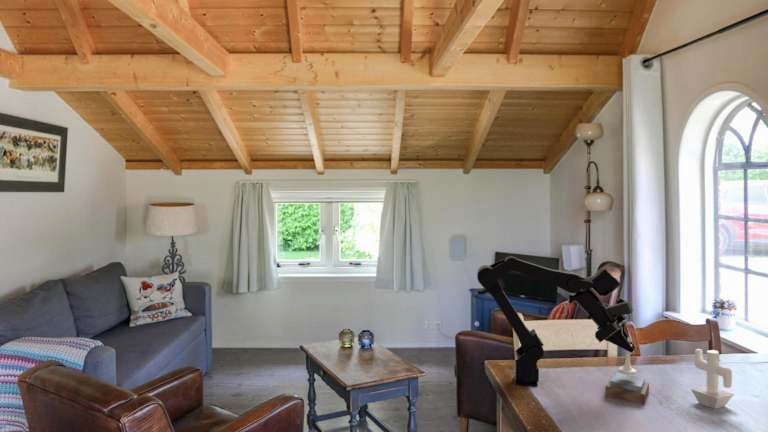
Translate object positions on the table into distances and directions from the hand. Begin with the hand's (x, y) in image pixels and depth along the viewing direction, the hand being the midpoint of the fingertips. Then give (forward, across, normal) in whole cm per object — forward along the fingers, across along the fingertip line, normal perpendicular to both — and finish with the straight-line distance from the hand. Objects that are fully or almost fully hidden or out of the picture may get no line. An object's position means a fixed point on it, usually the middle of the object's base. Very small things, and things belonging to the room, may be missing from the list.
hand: (633, 350), depth 140 cm
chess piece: (+4, 0, +6) cm, 7 cm away
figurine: (+23, +6, -4) cm, 24 cm away
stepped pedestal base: (+9, 0, +10) cm, 13 cm away
